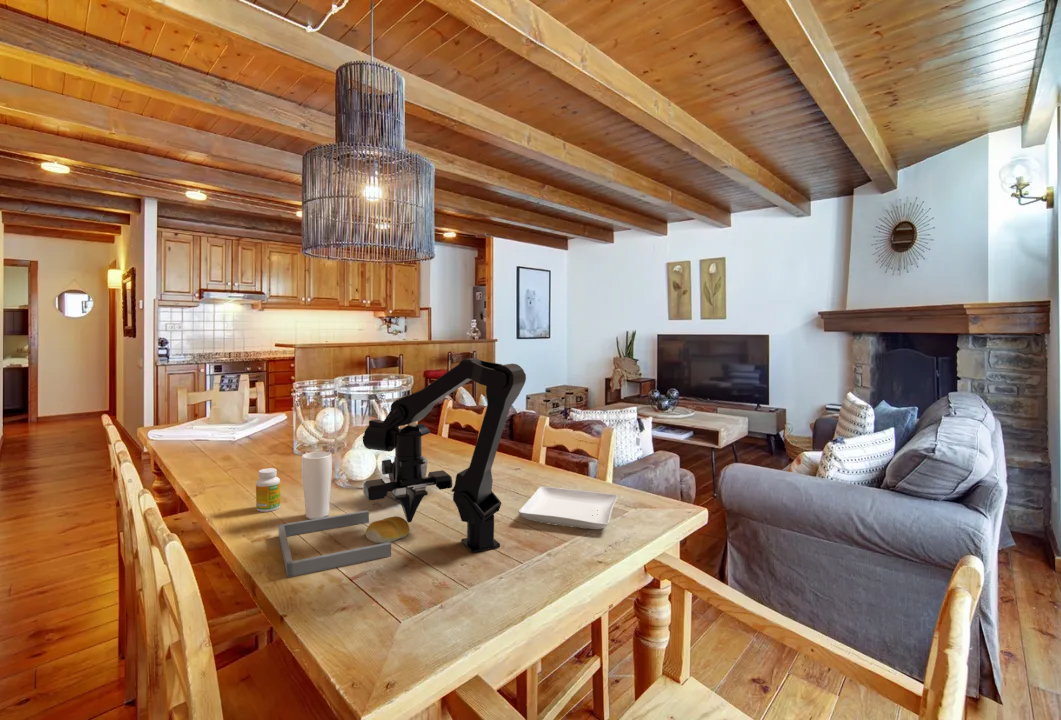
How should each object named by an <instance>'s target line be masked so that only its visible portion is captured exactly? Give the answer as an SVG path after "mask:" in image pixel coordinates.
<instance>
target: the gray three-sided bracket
mask: <svg viewBox="0 0 1061 720" xmlns="http://www.w3.org/2000/svg"><path fill="white" fill-rule="evenodd" d="M369 522H370V511H369V510H368V509H367V510H361V511H356V512H349V513H348V512H347V513H342V514H337V515H331V516H326V517H324V518H317V519H306V520H300V521H294V522H293V521H292V522H288V523H283V524H282V523H281V524H278V539H279V544H280V550H281V553H282V554H281V555H282V559H283V563H284V568H285V573H286V578H292V577H297V576H298V577H299V576H302V575H307V574H311V573H316V572H321V571H325V570H331V569H335V568H336V569H337V568H340V567H344V566H350V565H354V564H359V563H363V562H368V561H369V562H370V561H373V560H379V559H383V558H387V557H391V556H392V542H387V543H376V544H373V545H372V544H371V545H367V546H363V547H358V548H353V549H346V550H342V551H338V552H337V551H336V552H331V553H327V554H322V555H317V556H311V557H308V558H307V557H306V558H301V559H296V560H293V557H292V553H291V549H290V546H289V541H288V537H291V536H296V535H297V536H298V535H302V534H303V535H304V534H307V533H308V534H309V533H314V532H319V531H325V530H332V529H337V528H336V527H338V528H341V527H342V528H343V527H348V526H354V525H360V524H365V523H369ZM331 528H332V529H331Z"/></svg>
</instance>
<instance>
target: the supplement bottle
mask: <svg viewBox="0 0 1061 720" xmlns="http://www.w3.org/2000/svg"><path fill="white" fill-rule="evenodd" d="M277 472H278V471H277V469H276V468H275V467H274V468H273V467H269V468H262V469H259V470H258V479H257V480H256V482H255V503H256V504H255V506H256V511H257V512H262V513H265V512H274V511H276V510H278V509H280V507H281V479H280V478H279V477H278V476H277V474H278V473H277Z"/></svg>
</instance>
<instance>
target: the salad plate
mask: <svg viewBox="0 0 1061 720" xmlns="http://www.w3.org/2000/svg"><path fill="white" fill-rule="evenodd" d="M617 500H618V495H617V494H613V493H606V492H597V491H596V492H595V491H589V490H581V489H580V490H579V489H571V488H561V487H551V486H539V487H538V488H537V490H536V491H535V492H534V493H533V494H532V495H531V496H530V497H529V499H528V500H527V501H526V502H525V503H524V505H522V506H521V507H520V508H519V510H518V514H519V515H520V516H521V517H523V518H525V519H526V520H528V521H533V522H536V521H537V523H539V522H542V523H541V524H545V523H550V524H549V525H552V524H557V525H556V526H560V525H565V526H564V527H568V526H573V527H572V528H576V527H582V528H581V529H584V528H590V529H589V530H601V529H604V528H606V527H607V526H608V525H609V523H610V520H611V517H612V513H613V508H614V506H615V504H616V502H617ZM597 510H598V511H597ZM597 514H598V515H597ZM592 515H593V516H592Z"/></svg>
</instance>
